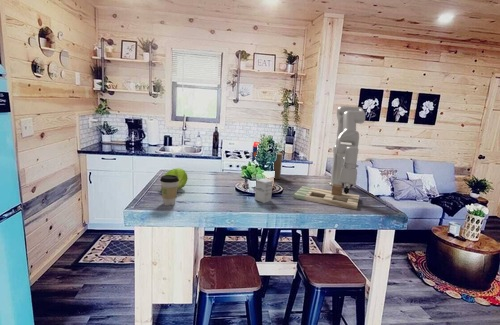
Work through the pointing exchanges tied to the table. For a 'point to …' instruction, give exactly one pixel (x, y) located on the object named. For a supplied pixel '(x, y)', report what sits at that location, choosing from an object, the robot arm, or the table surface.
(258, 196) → the supplement box
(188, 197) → the table surface
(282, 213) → the table surface
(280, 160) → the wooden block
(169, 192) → the coffee cup
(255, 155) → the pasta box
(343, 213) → the table surface
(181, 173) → the lettuce
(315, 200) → the board
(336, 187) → the walnut cube
